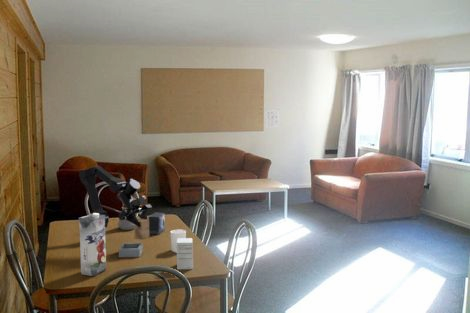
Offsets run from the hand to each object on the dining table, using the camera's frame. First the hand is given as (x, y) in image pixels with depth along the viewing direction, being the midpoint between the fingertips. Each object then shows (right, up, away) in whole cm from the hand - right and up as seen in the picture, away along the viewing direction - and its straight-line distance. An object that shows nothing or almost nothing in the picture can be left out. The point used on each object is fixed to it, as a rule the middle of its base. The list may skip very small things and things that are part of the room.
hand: (143, 225), depth 252 cm
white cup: (+17, -13, +3) cm, 22 cm away
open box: (-6, -14, -2) cm, 15 cm away
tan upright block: (-1, -6, +2) cm, 7 cm away
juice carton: (-17, -17, -29) cm, 38 cm away
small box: (+1, -9, +37) cm, 38 cm away
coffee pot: (-22, -8, +43) cm, 49 cm away
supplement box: (+23, -16, -20) cm, 35 cm away
